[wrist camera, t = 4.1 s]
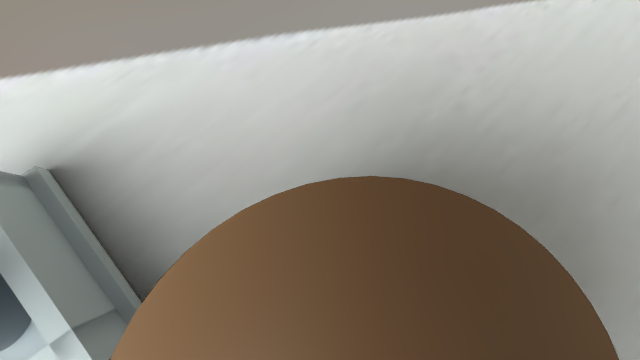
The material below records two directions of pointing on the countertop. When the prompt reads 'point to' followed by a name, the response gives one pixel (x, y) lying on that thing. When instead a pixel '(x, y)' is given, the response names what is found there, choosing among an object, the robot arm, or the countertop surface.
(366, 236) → the walnut peg
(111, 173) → the countertop surface
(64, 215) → the slot rack
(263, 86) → the countertop surface
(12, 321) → the grey peg
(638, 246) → the countertop surface
